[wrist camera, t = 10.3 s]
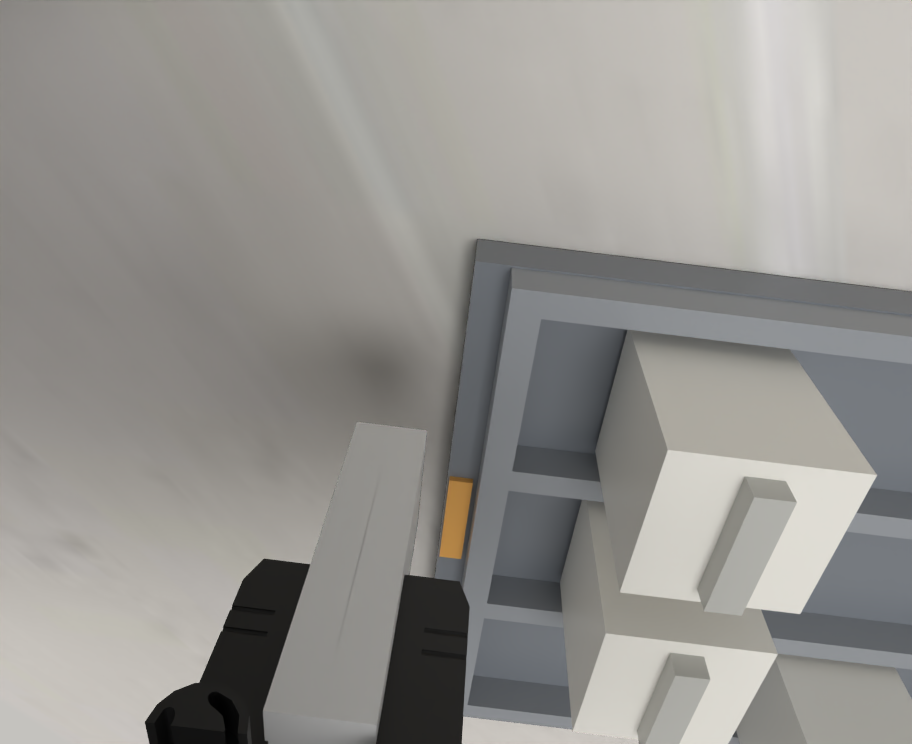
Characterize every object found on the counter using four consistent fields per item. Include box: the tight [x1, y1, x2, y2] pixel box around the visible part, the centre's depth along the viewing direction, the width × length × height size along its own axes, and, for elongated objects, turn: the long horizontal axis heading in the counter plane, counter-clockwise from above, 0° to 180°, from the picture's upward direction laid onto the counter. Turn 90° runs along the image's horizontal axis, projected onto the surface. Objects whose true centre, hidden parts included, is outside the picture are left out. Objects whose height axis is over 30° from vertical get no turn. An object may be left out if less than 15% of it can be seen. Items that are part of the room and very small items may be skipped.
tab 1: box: [595, 330, 877, 616], centre depth 16 cm, size 4×4×6 cm
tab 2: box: [560, 500, 778, 744], centre depth 19 cm, size 4×4×6 cm
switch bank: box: [435, 239, 912, 744], centre depth 22 cm, size 20×17×3 cm
